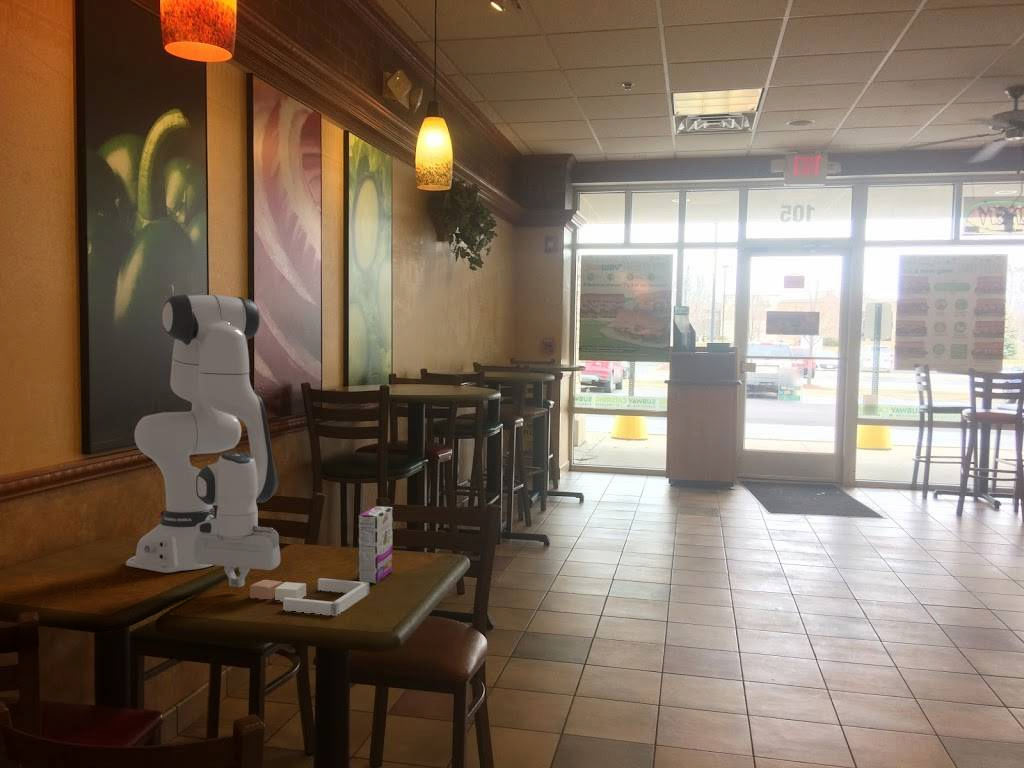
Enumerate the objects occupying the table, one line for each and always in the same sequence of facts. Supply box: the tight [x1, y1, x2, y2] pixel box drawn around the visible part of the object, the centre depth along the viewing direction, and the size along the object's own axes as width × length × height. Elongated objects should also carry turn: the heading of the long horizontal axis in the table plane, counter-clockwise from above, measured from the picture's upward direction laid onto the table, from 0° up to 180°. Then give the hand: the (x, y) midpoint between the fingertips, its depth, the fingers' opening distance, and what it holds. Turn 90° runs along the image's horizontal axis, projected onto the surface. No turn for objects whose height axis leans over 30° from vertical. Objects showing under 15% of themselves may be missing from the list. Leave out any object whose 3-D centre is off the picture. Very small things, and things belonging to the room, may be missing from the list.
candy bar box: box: [358, 505, 394, 584], centre depth 194 cm, size 11×5×16 cm, turn 168°
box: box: [282, 577, 370, 617], centre depth 174 cm, size 12×16×2 cm
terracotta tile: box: [249, 579, 284, 600], centre depth 178 cm, size 5×5×3 cm
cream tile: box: [274, 581, 307, 602], centre depth 176 cm, size 5×5×3 cm
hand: (236, 585), depth 180 cm, fingers closed
